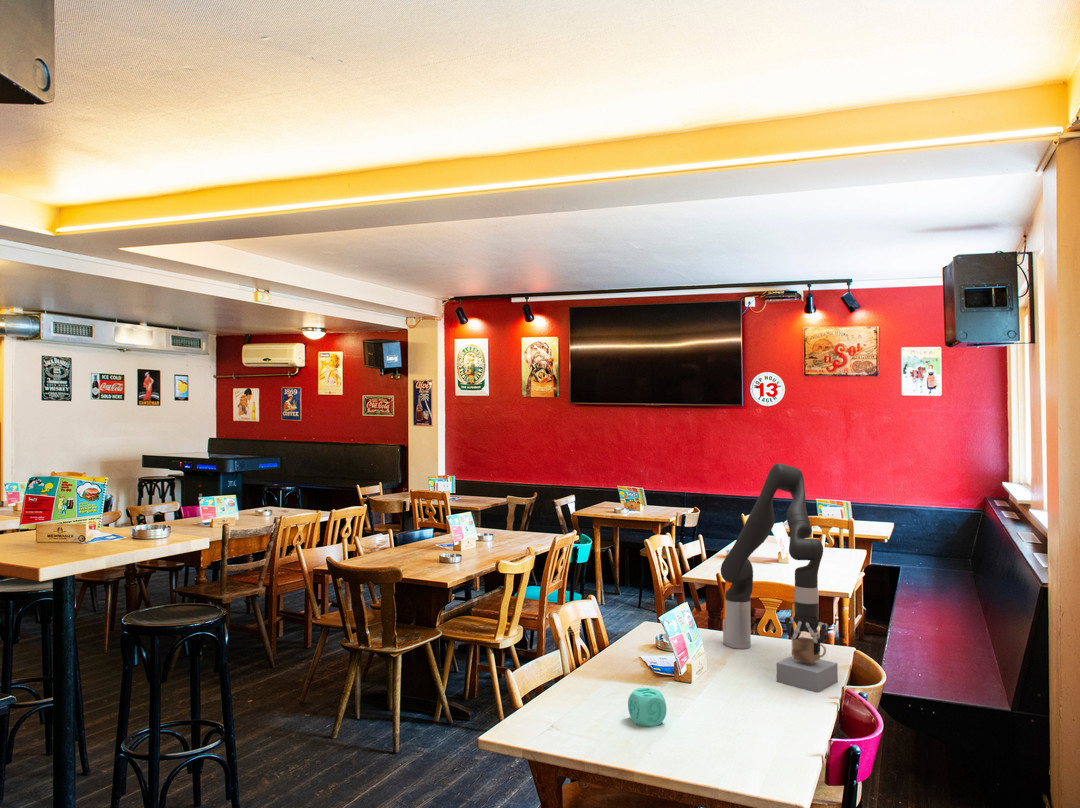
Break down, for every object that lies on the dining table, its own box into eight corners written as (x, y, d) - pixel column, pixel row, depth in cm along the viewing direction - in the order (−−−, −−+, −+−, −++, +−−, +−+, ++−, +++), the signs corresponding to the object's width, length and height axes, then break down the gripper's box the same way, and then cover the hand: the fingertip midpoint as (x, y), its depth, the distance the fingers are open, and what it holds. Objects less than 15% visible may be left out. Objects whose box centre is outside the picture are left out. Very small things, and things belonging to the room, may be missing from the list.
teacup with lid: (787, 662, 260) (787, 628, 261) (796, 656, 267) (795, 623, 268) (822, 668, 253) (821, 634, 253) (830, 662, 260) (829, 629, 260)
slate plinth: (776, 681, 240) (776, 662, 240) (796, 671, 250) (796, 653, 250) (818, 692, 230) (818, 672, 230) (837, 681, 240) (837, 663, 240)
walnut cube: (793, 658, 240) (793, 640, 240) (802, 655, 244) (802, 636, 244) (811, 663, 236) (811, 644, 236) (819, 659, 240) (819, 640, 240)
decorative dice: (652, 714, 211) (652, 686, 212) (666, 724, 204) (666, 695, 204) (627, 718, 209) (627, 689, 209) (641, 728, 201) (641, 699, 201)
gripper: (780, 598, 243) (780, 649, 243) (822, 605, 233) (823, 659, 232) (791, 594, 248) (791, 645, 248) (833, 602, 238) (833, 654, 238)
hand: (806, 652), depth 240 cm, fingers closed on walnut cube, 5 cm apart
